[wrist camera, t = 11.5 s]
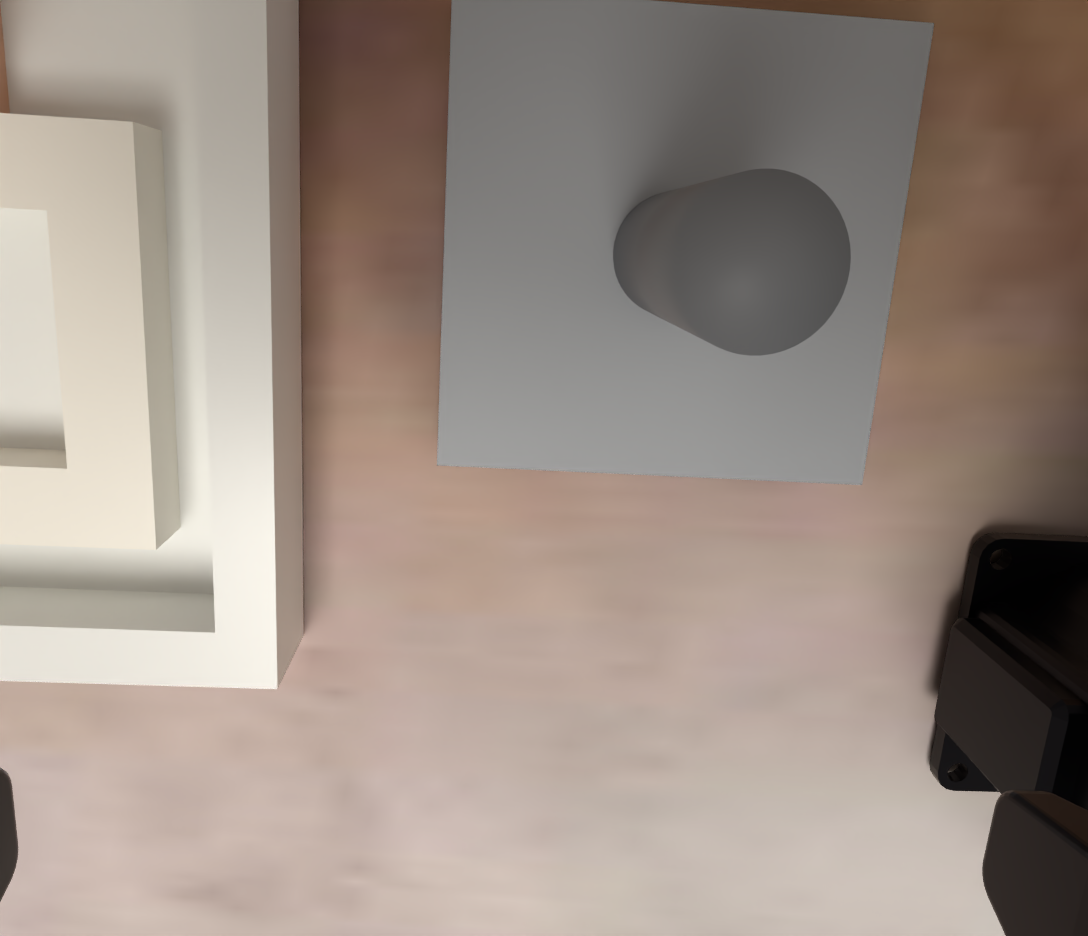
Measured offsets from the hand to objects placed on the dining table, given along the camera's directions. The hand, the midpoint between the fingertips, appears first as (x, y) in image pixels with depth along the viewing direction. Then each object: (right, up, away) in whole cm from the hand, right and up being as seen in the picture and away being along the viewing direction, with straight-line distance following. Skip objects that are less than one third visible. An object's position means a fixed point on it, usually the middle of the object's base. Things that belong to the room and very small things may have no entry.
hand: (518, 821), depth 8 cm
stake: (+3, +8, +11) cm, 13 cm away
